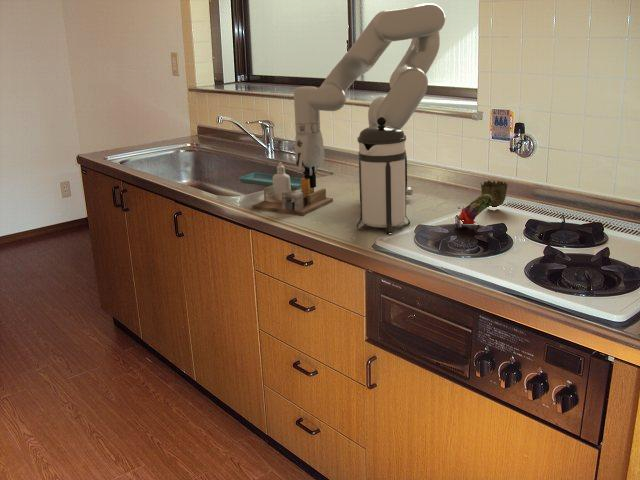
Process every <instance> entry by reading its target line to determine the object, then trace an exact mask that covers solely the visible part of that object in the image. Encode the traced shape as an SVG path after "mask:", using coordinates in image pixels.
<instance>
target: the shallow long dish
mask: <svg viewBox="0 0 640 480" xmlns="http://www.w3.org/2000/svg"><path fill="white" fill-rule="evenodd" d="M274 175H275V174H267V173H262V172H261V173H260V172H252V173H248V174H245V175H243V176H240V177H238V180H239V181H240V182H241V183H242V184H248V185H255V186H262V187H263V186H264V187H269V186H272V185H273V176H274ZM301 179H302V178H299V177H298V178H297V177H290V183H291V190H293V191H297V190H299V189H301ZM292 184H293V185H292Z"/></svg>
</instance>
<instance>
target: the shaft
mask: <svg viewBox="0 0 640 480" xmlns="http://www.w3.org/2000/svg"><path fill="white" fill-rule="evenodd" d="M300 179H301V188H300V189H301V191H302V192H303V206H304V205H306V204H307V195H309V194H310V179H309V178H304V177H302V178H300ZM286 210H295V207H294V198H293V199H291V200H289V201H286Z"/></svg>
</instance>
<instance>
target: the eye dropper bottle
mask: <svg viewBox="0 0 640 480" xmlns="http://www.w3.org/2000/svg"><path fill="white" fill-rule="evenodd" d="M273 175H274V176H273V191H274V196H282V193H283V192H285V191H292V189H291V183H290V175H289V174H287V173H286V167H285V165H283V163H282V162H281V161H279V163H278V165H277V166H276V173H275V174H273Z"/></svg>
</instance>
